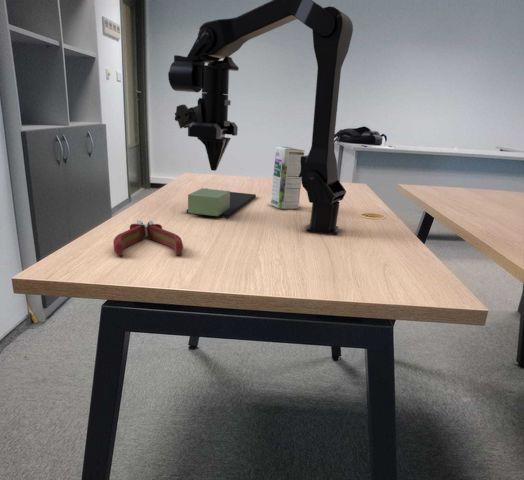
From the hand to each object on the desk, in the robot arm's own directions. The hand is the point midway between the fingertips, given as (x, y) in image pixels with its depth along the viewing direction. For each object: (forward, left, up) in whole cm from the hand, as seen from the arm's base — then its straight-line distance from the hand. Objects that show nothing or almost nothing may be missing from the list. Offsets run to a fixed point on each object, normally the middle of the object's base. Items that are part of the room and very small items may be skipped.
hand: (213, 170), depth 109 cm
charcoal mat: (+10, 0, -9) cm, 14 cm away
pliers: (-32, +1, -10) cm, 33 cm away
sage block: (-8, 0, -6) cm, 10 cm away
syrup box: (+15, -15, -10) cm, 23 cm away
